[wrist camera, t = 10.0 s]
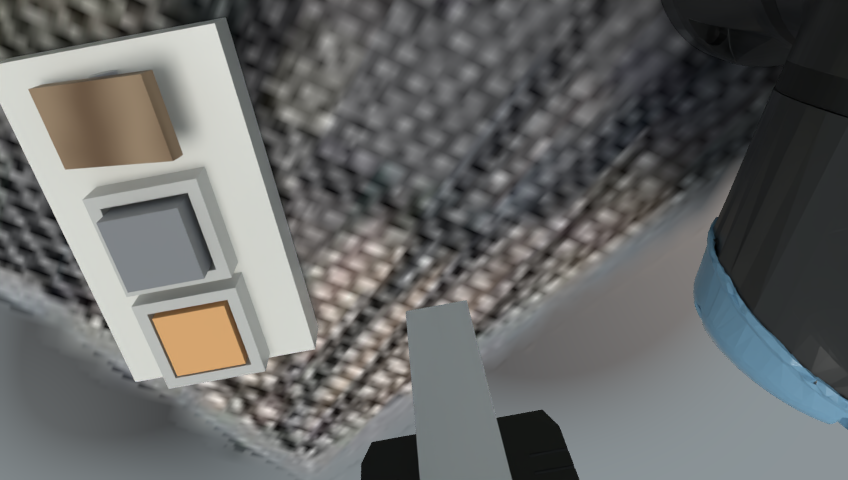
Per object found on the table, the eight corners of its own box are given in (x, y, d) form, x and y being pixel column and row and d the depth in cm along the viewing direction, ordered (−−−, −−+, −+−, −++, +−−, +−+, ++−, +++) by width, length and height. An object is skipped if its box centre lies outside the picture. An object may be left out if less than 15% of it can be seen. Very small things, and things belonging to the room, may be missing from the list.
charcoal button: (188, 193, 39) (177, 208, 37) (213, 260, 41) (204, 278, 39) (111, 207, 39) (96, 223, 37) (140, 274, 41) (127, 292, 39)
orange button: (231, 287, 44) (223, 305, 42) (251, 343, 46) (245, 363, 44) (162, 300, 44) (152, 318, 42) (186, 355, 46) (177, 376, 44)
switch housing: (225, 16, 39) (205, 28, 34) (318, 326, 50) (312, 367, 45) (9, 57, 39) (-40, 74, 34) (148, 357, 50) (125, 401, 45)
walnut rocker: (152, 69, 34) (140, 74, 33) (183, 154, 36) (173, 161, 35) (41, 84, 36) (28, 89, 35) (77, 163, 39) (65, 169, 38)
